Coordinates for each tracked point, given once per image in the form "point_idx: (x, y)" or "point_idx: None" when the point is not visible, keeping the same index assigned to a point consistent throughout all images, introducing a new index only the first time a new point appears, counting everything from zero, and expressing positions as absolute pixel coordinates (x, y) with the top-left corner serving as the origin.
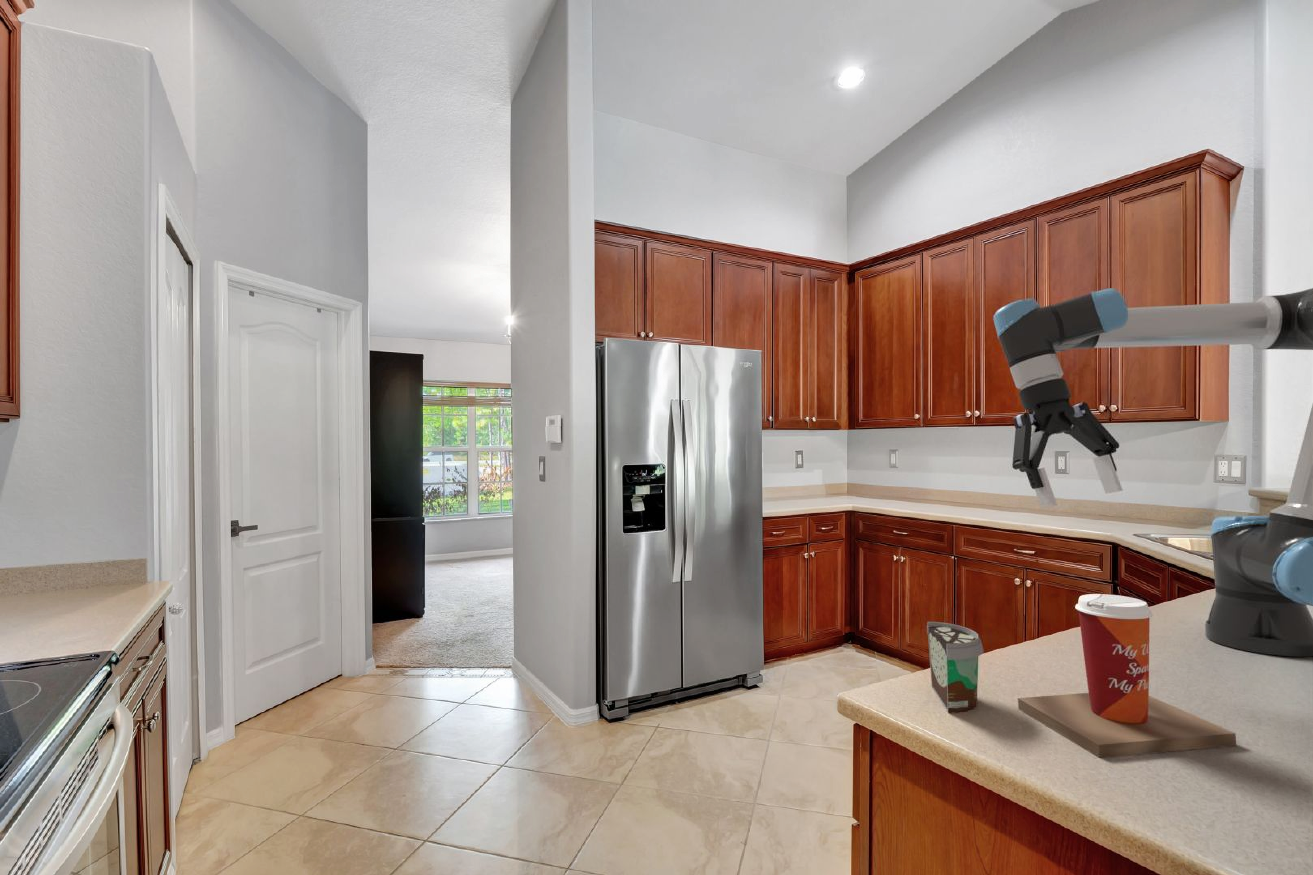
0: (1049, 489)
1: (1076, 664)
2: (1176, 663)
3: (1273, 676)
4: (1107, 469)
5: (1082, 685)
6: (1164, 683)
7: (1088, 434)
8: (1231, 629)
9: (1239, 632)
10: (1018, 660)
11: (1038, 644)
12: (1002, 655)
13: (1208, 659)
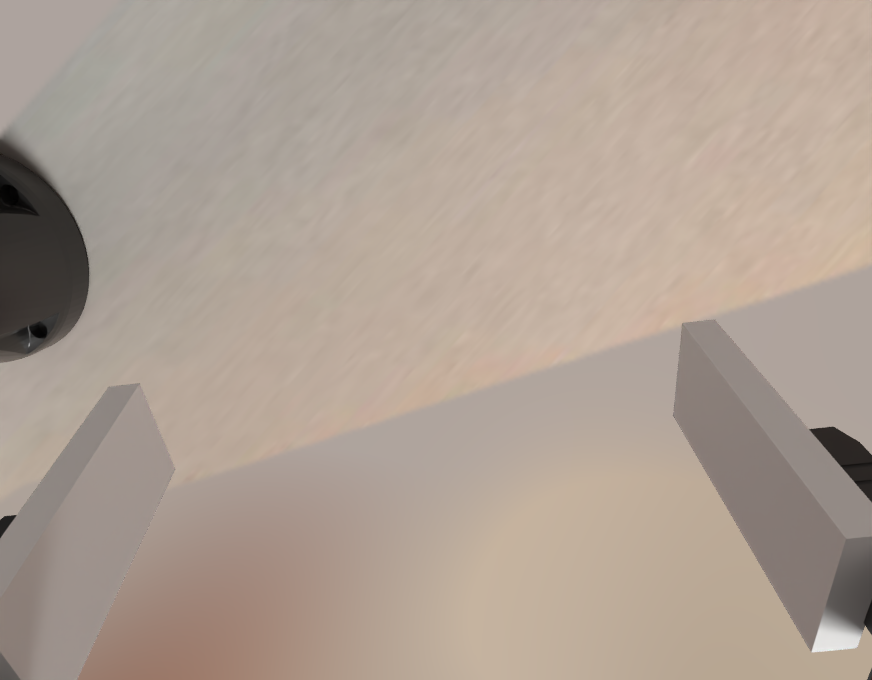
0: (753, 390)
1: (533, 212)
2: (291, 171)
3: (151, 47)
4: (74, 531)
5: (642, 70)
6: (434, 48)
7: None
8: (48, 250)
9: (44, 233)
10: (653, 269)
11: (507, 367)
12: (664, 312)
13: (197, 182)
